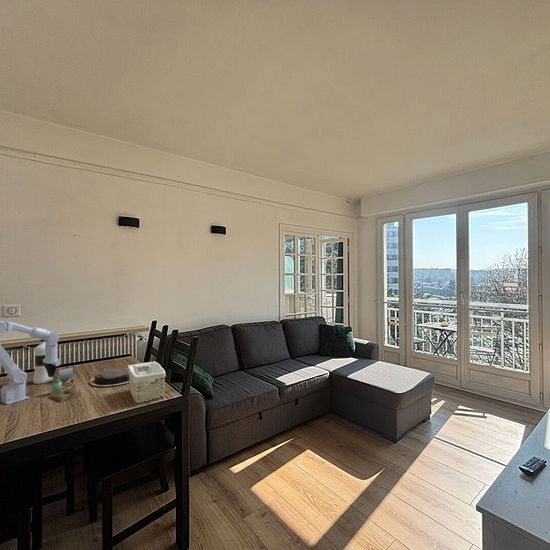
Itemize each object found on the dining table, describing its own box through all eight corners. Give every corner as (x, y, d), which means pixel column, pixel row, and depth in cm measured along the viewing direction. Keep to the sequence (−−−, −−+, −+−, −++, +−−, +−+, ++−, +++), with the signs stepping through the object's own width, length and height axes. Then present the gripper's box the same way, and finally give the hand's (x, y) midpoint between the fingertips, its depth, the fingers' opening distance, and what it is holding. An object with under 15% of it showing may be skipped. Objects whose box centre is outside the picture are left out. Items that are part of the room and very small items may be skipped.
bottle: (54, 395, 167) (54, 378, 167) (50, 393, 169) (50, 377, 169) (63, 392, 170) (63, 376, 170) (59, 391, 173) (59, 375, 173)
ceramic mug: (58, 379, 191) (58, 367, 191) (74, 377, 195) (74, 366, 195) (56, 385, 182) (56, 372, 181) (72, 383, 185) (72, 370, 185)
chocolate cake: (97, 374, 202) (97, 364, 202) (142, 371, 210) (142, 362, 210) (82, 390, 175) (82, 378, 175) (135, 386, 183) (135, 375, 183)
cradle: (61, 401, 158) (61, 397, 158) (49, 397, 164) (49, 392, 164) (80, 395, 166) (80, 391, 166) (69, 391, 172) (69, 387, 172)
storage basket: (166, 398, 164) (166, 371, 164) (133, 405, 155) (133, 376, 155) (156, 385, 184) (156, 360, 184) (126, 390, 175) (127, 364, 175)
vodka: (32, 381, 188) (33, 332, 188) (51, 378, 194) (52, 331, 194) (33, 385, 181) (33, 335, 181) (52, 382, 187) (53, 333, 187)
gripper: (65, 352, 173) (65, 376, 173) (52, 349, 180) (52, 372, 180) (51, 355, 167) (51, 380, 167) (38, 352, 174) (38, 376, 174)
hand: (51, 376), depth 173 cm, fingers closed
